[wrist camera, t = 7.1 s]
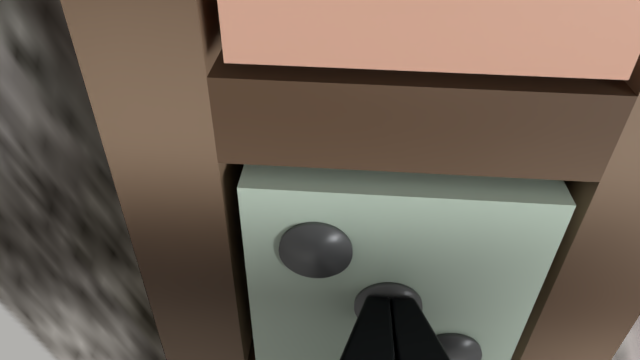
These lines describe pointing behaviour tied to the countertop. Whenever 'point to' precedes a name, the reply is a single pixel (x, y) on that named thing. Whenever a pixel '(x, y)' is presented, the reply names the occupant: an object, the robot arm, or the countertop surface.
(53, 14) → the countertop surface
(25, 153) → the countertop surface
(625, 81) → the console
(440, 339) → the three dot button
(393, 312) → the robot arm
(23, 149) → the countertop surface
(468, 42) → the one dot button
